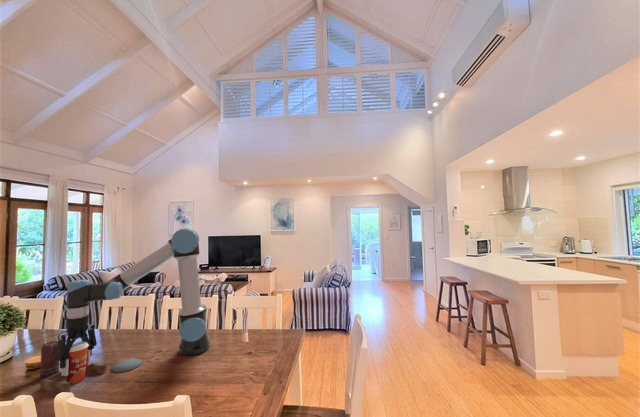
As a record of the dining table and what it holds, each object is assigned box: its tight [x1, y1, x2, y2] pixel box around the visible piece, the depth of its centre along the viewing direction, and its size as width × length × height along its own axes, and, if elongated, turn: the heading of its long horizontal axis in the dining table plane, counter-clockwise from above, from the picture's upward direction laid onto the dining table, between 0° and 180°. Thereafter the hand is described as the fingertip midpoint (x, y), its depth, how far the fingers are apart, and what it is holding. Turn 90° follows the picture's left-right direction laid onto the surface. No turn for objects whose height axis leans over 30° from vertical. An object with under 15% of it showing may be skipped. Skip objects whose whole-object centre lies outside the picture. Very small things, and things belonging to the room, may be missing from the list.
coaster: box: [111, 358, 143, 373], centre depth 134 cm, size 12×12×1 cm
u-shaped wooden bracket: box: [40, 362, 107, 393], centre depth 122 cm, size 14×16×4 cm
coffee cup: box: [65, 340, 89, 385], centre depth 123 cm, size 8×8×15 cm
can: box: [39, 340, 60, 380], centre depth 127 cm, size 6×6×14 cm
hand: (76, 369), depth 123 cm, fingers closed on coffee cup, 8 cm apart
